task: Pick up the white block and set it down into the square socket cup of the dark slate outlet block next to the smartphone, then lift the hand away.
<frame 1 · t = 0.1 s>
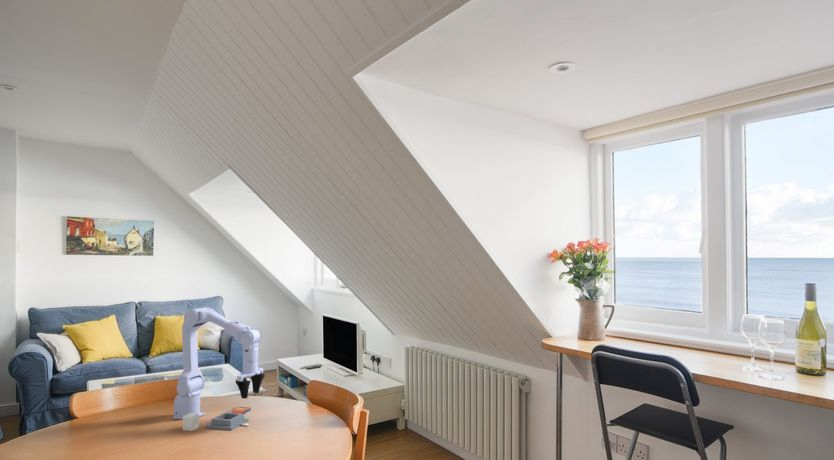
hand: (250, 395, 194), 10 cm above the table, tool pointing down, fingers open, 7 cm apart
outlet block: (227, 424, 190), on the table
smartphone: (233, 416, 202), on the table
white block: (190, 428, 186), on the table
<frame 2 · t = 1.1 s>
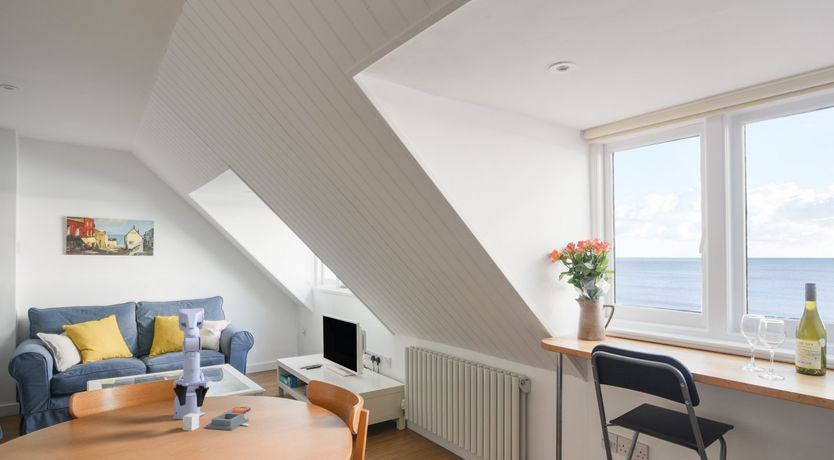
hand: (191, 405, 187), 8 cm above the table, tool pointing down, fingers open, 7 cm apart
nothing on the table moved.
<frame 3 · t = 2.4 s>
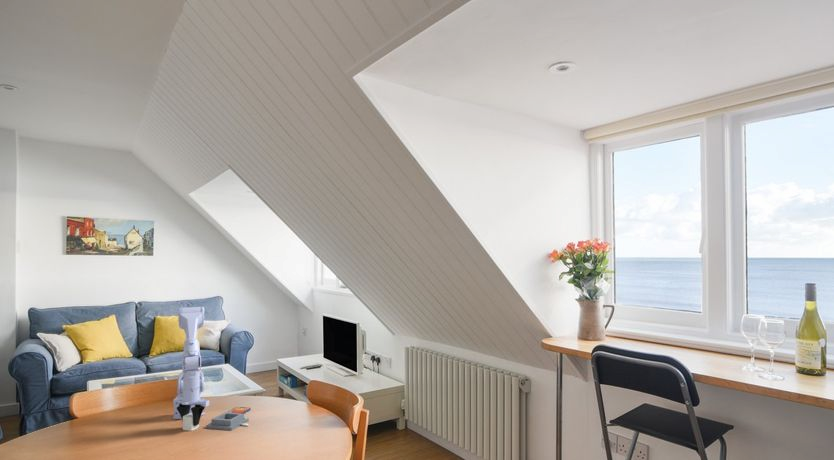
hand: (190, 424, 186), 1 cm above the table, tool pointing down, fingers closed on white block, 4 cm apart
white block: (190, 428, 186), on the table, touching gripper
everything else where it was.
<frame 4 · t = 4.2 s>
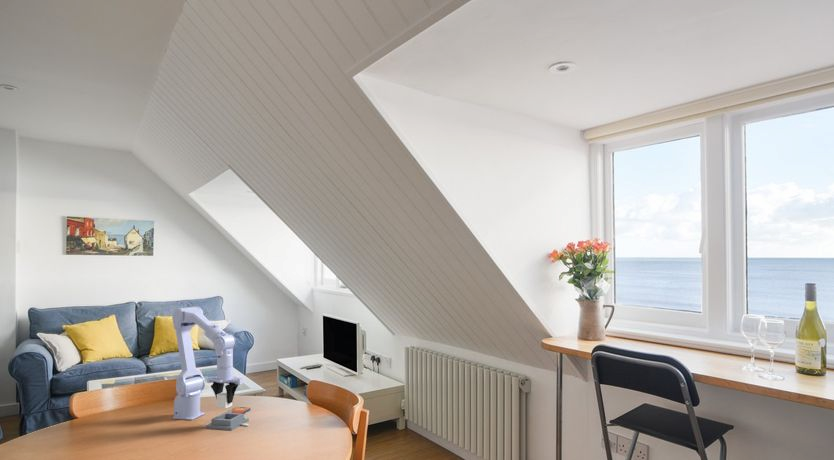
hand: (224, 402, 190), 8 cm above the table, tool pointing down, fingers closed on white block, 4 cm apart
white block: (224, 406, 190), point 7 cm above the table, touching gripper
everything else where it was.
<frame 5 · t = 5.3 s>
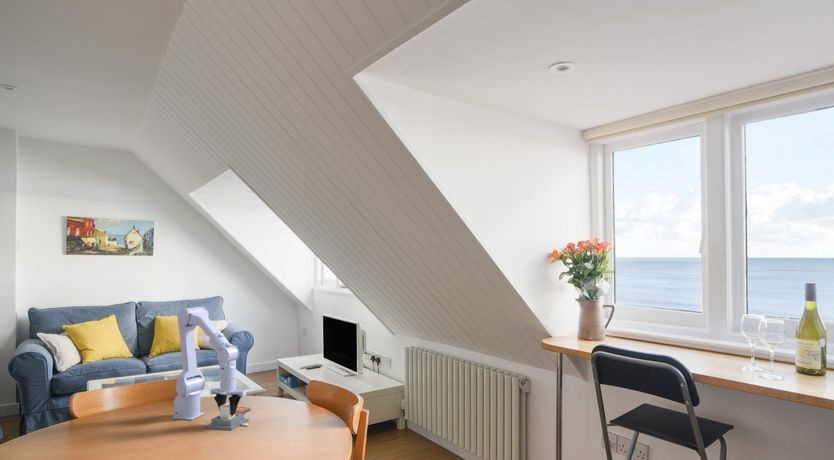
hand: (227, 414, 190), 4 cm above the table, tool pointing down, fingers closed on white block, 4 cm apart
white block: (227, 418, 190), point 2 cm above the table, touching gripper
everything else where it was.
when the fingers open (4 cm above the table, at t = 6.0 s): white block drops 1 cm, resting on outlet block.
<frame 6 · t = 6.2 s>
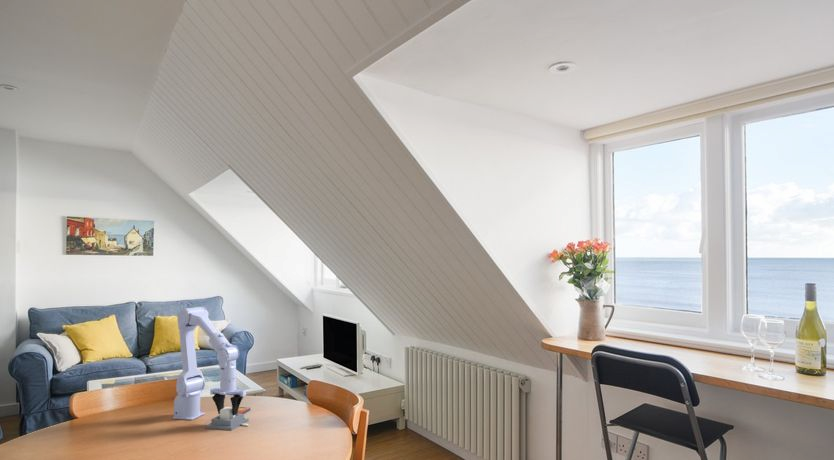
hand: (227, 414, 190), 4 cm above the table, tool pointing down, fingers open, 6 cm apart
white block: (227, 421, 190), point 1 cm above the table, touching outlet block
everything else where it was.
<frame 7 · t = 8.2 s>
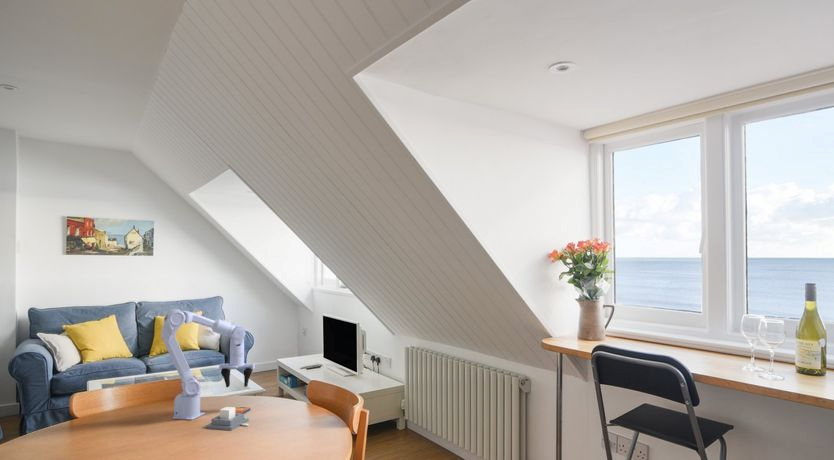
hand: (236, 386, 210), 9 cm above the table, tool pointing down, fingers open, 7 cm apart
nothing on the table moved.
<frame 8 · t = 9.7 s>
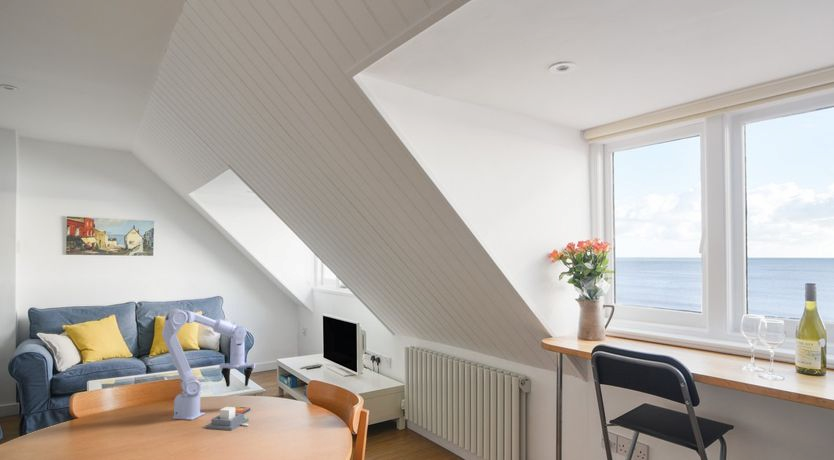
hand: (237, 385, 211), 9 cm above the table, tool pointing down, fingers open, 7 cm apart
nothing on the table moved.
at the end: white block 0.1 cm off-centre on the outlet block, point 1.0 cm above the outlet block's base; white block tilted 0°; the gripper is holding nothing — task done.
